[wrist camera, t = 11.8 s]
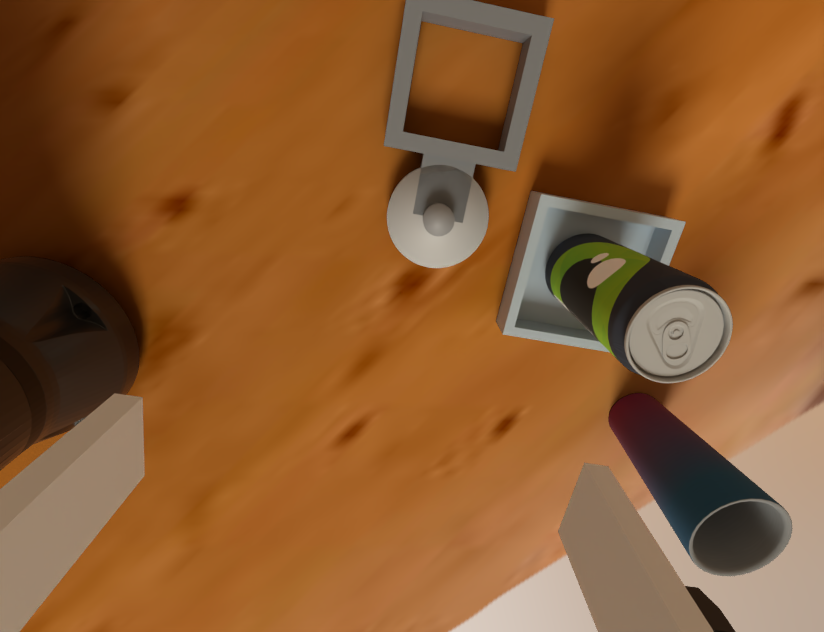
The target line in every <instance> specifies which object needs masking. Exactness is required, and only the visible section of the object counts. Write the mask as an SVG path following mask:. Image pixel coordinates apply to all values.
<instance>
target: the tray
mask: <svg viewBox="0 0 824 632" xmlns="http://www.w3.org/2000/svg"><path fill="white" fill-rule="evenodd" d="M685 223H686V222H684V221H680V220H676V219H673V218H669V217H665V216H660V215H654V214H649V213H644V212H639V211H634V210H629V209H623V208H618V207H613V206H608V205H603V204H598V203H592V202H587V201H582V200H577V199H572V198H567V197H561V196H556V195H551V194H546V193H541V192H536V191H531V192H530V196H529V199H528V203H527V207H526V211H525V215H524V218H523V222H522V226H521V230H520V233H519V237H518V241H517V245H516V248H515V252H514V256H513V260H512V263H511V267H510V271H509V275H508V278H507V282H506V286H505V290H504V293H503V297H502V301H501V305H500V308H499V312H498V316H497V320H496V322H497V324H498V326H499V328H500V330H501V332H502V334H504V335H510V336H516V337H522V338H528V339H534V340H540V341H546V342H552V343H558V344H564V345H570V346H576V347H581V348H587V349H593V350H599V351H605V352H609V351H608V350H607V349H606V348H605V347H604V346H603V345H602V344H601V343H600V342H599V341H598V340H597V339H596V338H595V337H594V336H593V335H592V334H591V333H590V332H589V331H588V330H587V329H586V328H585V327H584V326H583V325H582V324H581V323H580V322H579V321H578V320H577V319H576V318H575V317H574V316H573V315H572V314H571V313H570V312H569V311H568V310H567V309H566V308H565V307H564V306H563V305H562V304H561V303H560V302H559V301H558V300H557V299H556V298H555V297H554V296H553V295H552V294H551V292H550V291H549V289H548V287H547V284H546V280H545V269H546V264H547V261H548V259H549V257H550V255H551V253H552V252H553V251H554V249H555V248H556V247H557V246H558V245H559V244H560V243H562V242H563V241H564V240H566V239H568V238H570V237H572V236H575V235H578V234H585V233H590V234H596V235H600V236H602V237H604V238H607V239H609V240H611V241H614V242H616V243H618V244H620V245H623V246H625V247H627V248H629V249H632V250H634V251H636V252H639V253H641V254H643V255H645V256H648V257H650V258H652V259H654V260H657V261H659V262H661V263H664V264H666V265H668V266H669V264H670V262H671V259H672V256H673V254H674V251H675V249H676V246H677V244H678V241H679V238H680V236H681V233H682V231H683V228H684V226H685Z"/></svg>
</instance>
